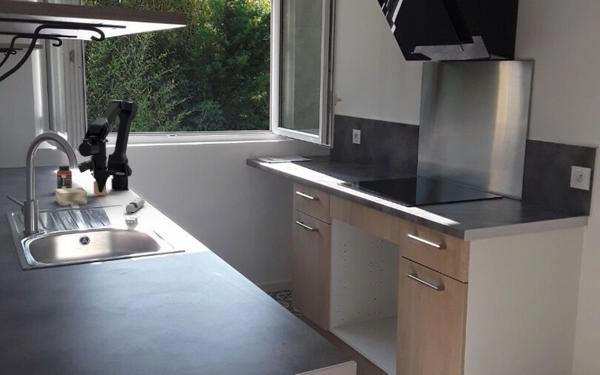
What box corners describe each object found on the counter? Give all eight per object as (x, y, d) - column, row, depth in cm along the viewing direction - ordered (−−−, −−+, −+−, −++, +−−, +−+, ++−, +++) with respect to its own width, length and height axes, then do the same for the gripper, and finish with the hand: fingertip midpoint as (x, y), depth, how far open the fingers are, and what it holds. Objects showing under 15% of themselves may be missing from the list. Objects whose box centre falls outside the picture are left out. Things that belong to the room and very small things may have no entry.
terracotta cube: (105, 192, 268) (104, 180, 267) (106, 194, 264) (106, 182, 263) (93, 193, 266) (93, 181, 265) (94, 195, 262) (94, 183, 261)
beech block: (82, 199, 257) (81, 187, 256) (87, 204, 249) (86, 191, 248) (55, 201, 252) (55, 189, 252) (60, 206, 244) (59, 193, 243)
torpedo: (135, 214, 233) (135, 197, 232) (123, 214, 233) (122, 196, 232) (148, 204, 251) (148, 188, 250) (136, 204, 251) (136, 188, 250)
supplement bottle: (67, 193, 268) (66, 166, 266) (54, 192, 270) (53, 165, 268) (75, 190, 274) (74, 164, 272) (62, 190, 275) (61, 164, 273)
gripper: (76, 151, 267) (77, 188, 270) (80, 157, 251) (81, 196, 253) (104, 151, 272) (105, 187, 275) (109, 156, 255) (110, 195, 258)
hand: (99, 191), depth 265 cm, fingers closed on terracotta cube, 4 cm apart
